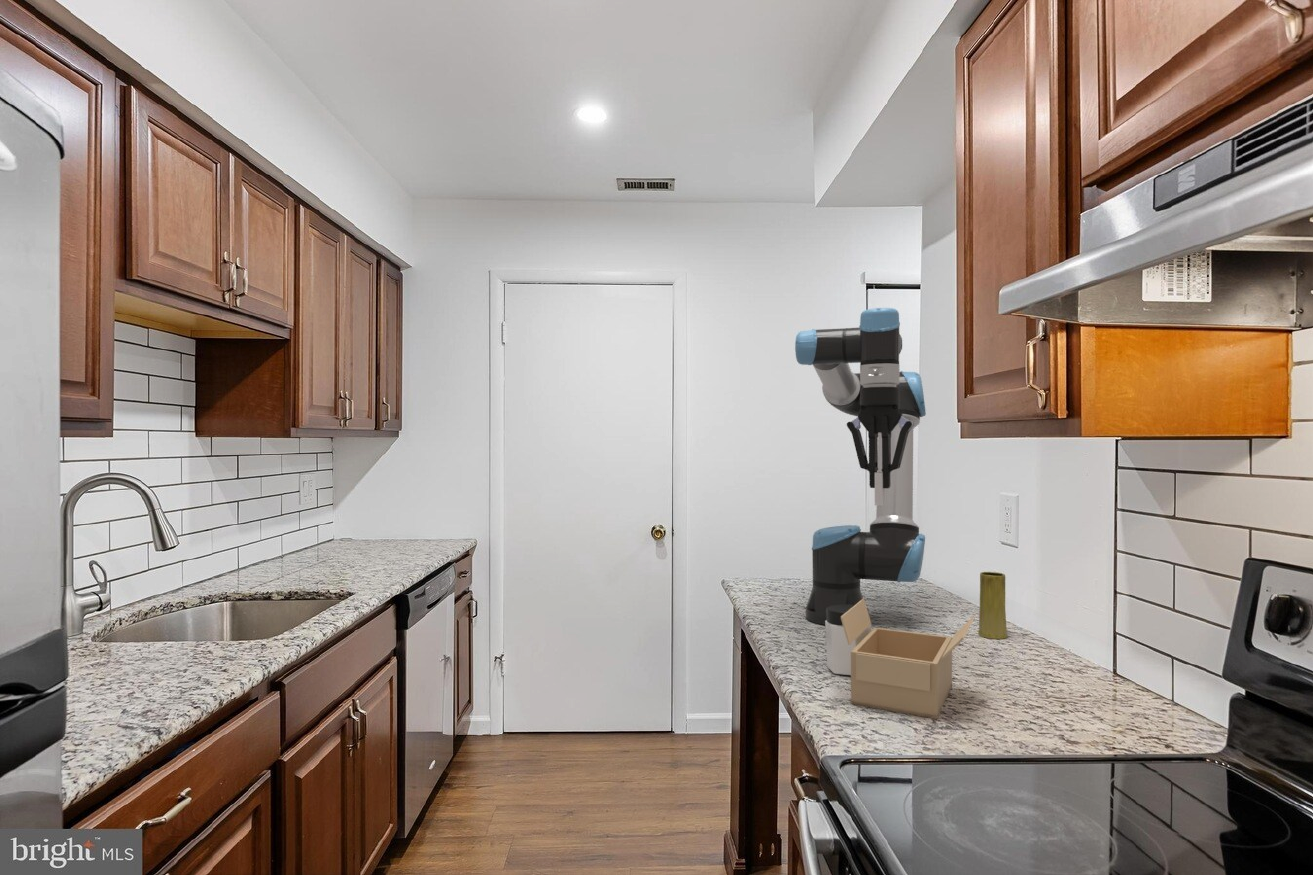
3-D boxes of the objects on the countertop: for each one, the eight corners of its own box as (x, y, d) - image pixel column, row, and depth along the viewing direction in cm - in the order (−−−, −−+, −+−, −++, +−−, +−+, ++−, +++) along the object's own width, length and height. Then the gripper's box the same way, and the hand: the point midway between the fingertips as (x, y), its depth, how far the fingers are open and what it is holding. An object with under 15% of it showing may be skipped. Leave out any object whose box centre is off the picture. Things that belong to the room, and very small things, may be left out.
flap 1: (871, 623, 141) (869, 623, 141) (864, 598, 142) (862, 598, 142) (850, 644, 127) (848, 644, 127) (842, 616, 128) (840, 616, 128)
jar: (850, 678, 138) (847, 614, 138) (818, 669, 144) (815, 608, 145) (882, 670, 142) (879, 608, 143) (850, 661, 149) (847, 602, 150)
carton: (875, 673, 142) (875, 626, 142) (952, 684, 135) (952, 636, 135) (850, 704, 125) (850, 652, 125) (936, 720, 119) (936, 664, 119)
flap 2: (973, 615, 132) (974, 616, 132) (954, 633, 134) (956, 635, 133) (962, 637, 118) (964, 638, 118) (941, 657, 120) (943, 658, 119)
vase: (1004, 640, 164) (1004, 577, 164) (975, 636, 167) (975, 574, 167) (1009, 634, 169) (1009, 573, 169) (981, 630, 172) (981, 570, 172)
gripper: (842, 386, 146) (842, 505, 146) (910, 384, 139) (910, 508, 139) (851, 388, 152) (852, 501, 152) (917, 386, 146) (917, 504, 146)
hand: (880, 504), depth 146 cm, fingers closed
